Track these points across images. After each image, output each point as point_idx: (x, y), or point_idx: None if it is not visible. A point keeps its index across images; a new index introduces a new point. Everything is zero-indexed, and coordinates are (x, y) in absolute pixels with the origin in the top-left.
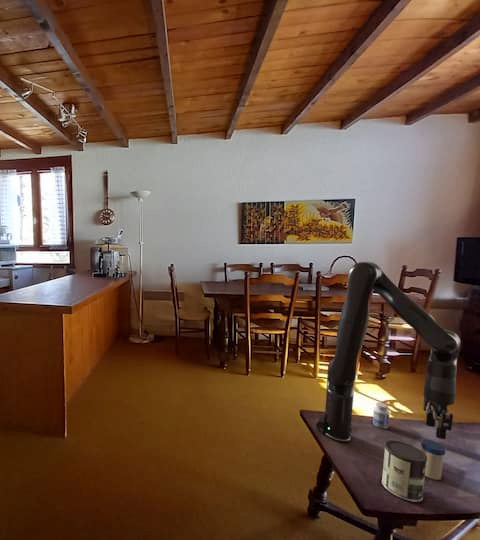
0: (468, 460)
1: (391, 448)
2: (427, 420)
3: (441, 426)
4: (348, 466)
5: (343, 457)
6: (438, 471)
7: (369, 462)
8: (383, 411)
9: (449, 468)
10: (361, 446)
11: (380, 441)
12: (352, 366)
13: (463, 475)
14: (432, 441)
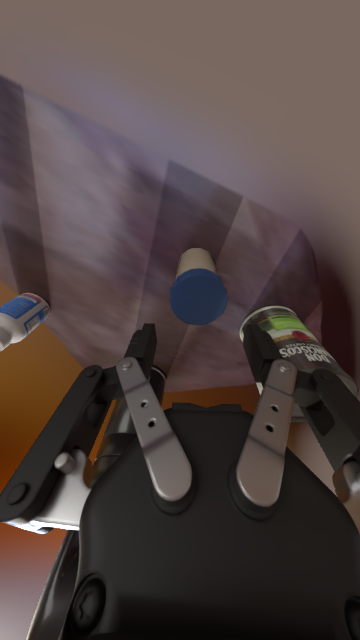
0: (48, 115)
1: (303, 416)
2: (152, 359)
3: (325, 414)
4: (231, 376)
5: (209, 378)
6: (215, 266)
7: (206, 352)
8: (11, 331)
9: (143, 208)
10: (159, 352)
11: (116, 321)
12: None
13: (159, 181)
14: (174, 297)
